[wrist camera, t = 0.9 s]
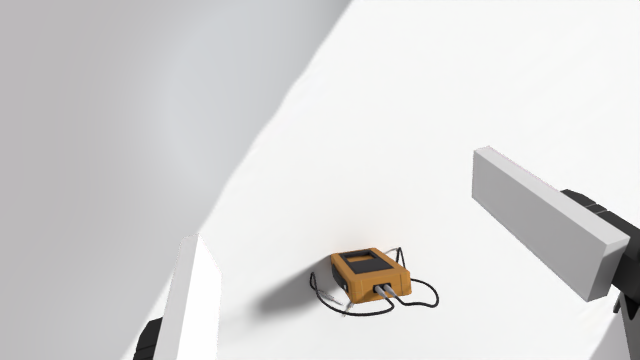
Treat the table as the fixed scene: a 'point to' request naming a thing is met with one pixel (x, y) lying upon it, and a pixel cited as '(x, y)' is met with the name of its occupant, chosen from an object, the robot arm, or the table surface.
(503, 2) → the table surface
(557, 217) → the robot arm
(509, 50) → the table surface
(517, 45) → the table surface
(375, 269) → the multimeter
